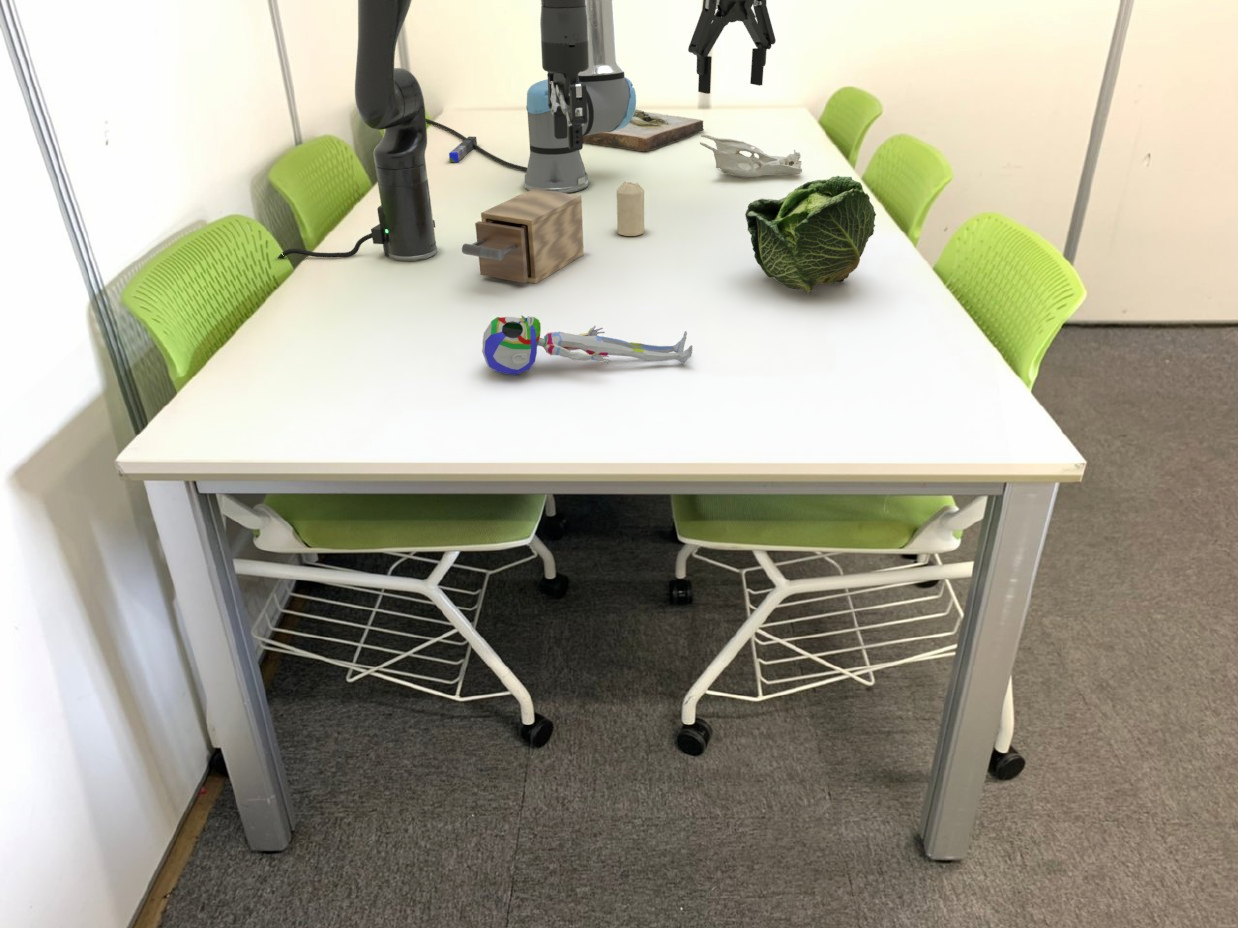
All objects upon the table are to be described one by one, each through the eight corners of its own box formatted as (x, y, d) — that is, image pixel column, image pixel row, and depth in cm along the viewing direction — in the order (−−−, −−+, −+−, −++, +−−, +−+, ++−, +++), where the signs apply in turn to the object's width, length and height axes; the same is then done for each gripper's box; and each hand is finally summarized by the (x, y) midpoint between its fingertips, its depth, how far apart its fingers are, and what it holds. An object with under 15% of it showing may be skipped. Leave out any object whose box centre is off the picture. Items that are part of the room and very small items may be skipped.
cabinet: (535, 283, 161) (531, 220, 155) (486, 274, 165) (480, 213, 159) (583, 254, 173) (581, 195, 167) (536, 246, 178) (533, 188, 172)
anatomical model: (702, 130, 224) (803, 129, 220) (702, 168, 229) (801, 167, 225) (697, 145, 212) (805, 144, 208) (697, 184, 216) (802, 184, 213)
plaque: (647, 125, 237) (559, 112, 252) (647, 153, 241) (560, 139, 256) (706, 107, 258) (622, 97, 273) (705, 133, 262) (622, 121, 277)
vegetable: (771, 309, 166) (722, 214, 159) (855, 252, 168) (810, 155, 160) (822, 325, 148) (769, 219, 140) (916, 260, 149) (868, 151, 142)
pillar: (476, 136, 251) (456, 154, 234) (476, 144, 252) (457, 162, 235) (468, 136, 251) (448, 153, 234) (469, 144, 252) (449, 162, 236)
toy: (697, 344, 127) (483, 326, 122) (687, 397, 131) (480, 382, 126) (685, 315, 135) (485, 298, 130) (676, 366, 139) (482, 351, 135)
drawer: (506, 294, 154) (501, 240, 149) (461, 285, 158) (455, 232, 153) (570, 255, 170) (568, 205, 165) (528, 248, 174) (524, 199, 169)
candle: (647, 229, 186) (647, 180, 180) (639, 237, 181) (639, 187, 176) (622, 227, 187) (621, 178, 182) (613, 235, 183) (612, 185, 177)
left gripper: (530, 33, 146) (535, 136, 155) (554, 45, 135) (558, 156, 143) (574, 31, 148) (577, 133, 157) (601, 42, 137) (603, 152, 145)
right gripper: (697, -30, 157) (693, 99, 168) (800, -37, 169) (789, 84, 180) (671, -32, 162) (669, 93, 173) (772, -39, 174) (764, 79, 185)
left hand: (568, 144), depth 150 cm, fingers open, 8 cm apart
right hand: (730, 88), depth 177 cm, fingers open, 13 cm apart
